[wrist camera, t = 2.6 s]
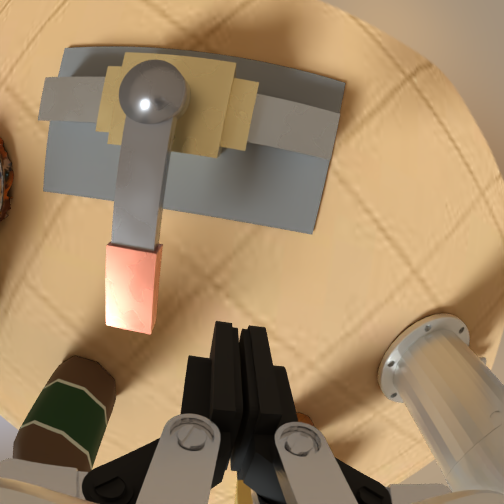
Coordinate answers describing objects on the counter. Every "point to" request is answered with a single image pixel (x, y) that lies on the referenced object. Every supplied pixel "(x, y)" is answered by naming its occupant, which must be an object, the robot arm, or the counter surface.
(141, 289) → the lever
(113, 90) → the valve
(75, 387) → the beer bottle
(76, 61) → the mat
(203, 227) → the counter surface
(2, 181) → the plate of food
